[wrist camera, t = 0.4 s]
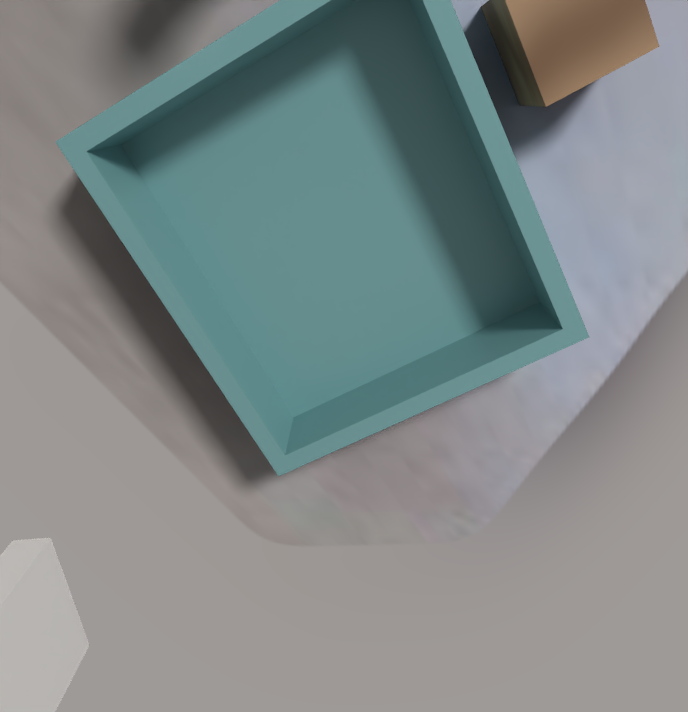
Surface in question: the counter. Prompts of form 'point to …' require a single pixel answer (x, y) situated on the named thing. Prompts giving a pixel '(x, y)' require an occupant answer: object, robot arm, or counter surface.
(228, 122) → the tote
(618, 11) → the walnut cube
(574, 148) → the counter surface
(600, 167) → the counter surface
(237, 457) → the counter surface
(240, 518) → the counter surface
